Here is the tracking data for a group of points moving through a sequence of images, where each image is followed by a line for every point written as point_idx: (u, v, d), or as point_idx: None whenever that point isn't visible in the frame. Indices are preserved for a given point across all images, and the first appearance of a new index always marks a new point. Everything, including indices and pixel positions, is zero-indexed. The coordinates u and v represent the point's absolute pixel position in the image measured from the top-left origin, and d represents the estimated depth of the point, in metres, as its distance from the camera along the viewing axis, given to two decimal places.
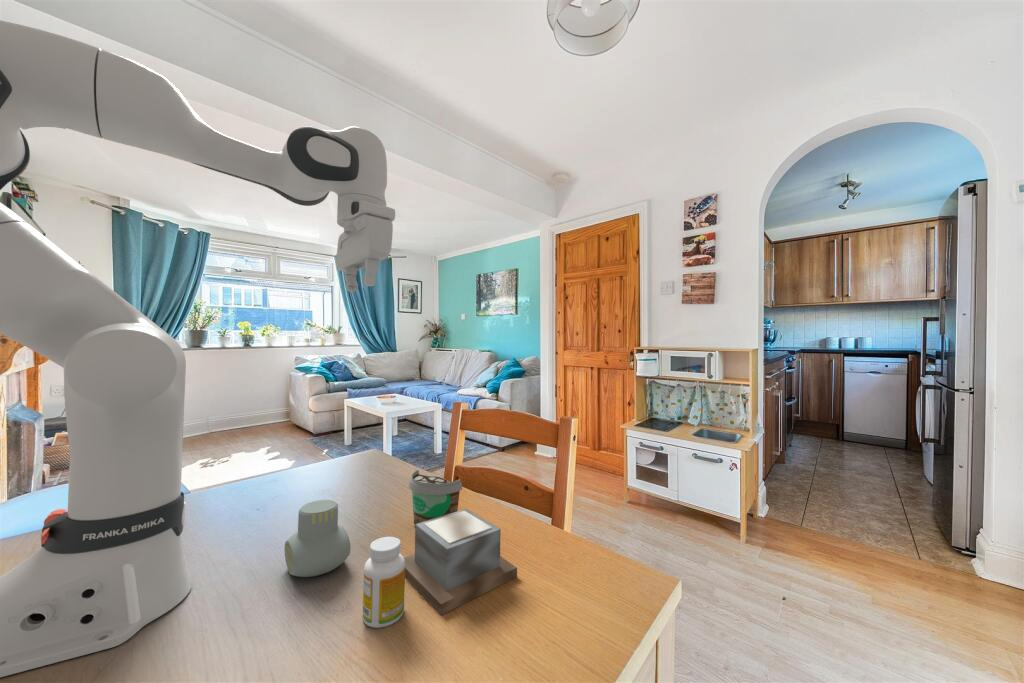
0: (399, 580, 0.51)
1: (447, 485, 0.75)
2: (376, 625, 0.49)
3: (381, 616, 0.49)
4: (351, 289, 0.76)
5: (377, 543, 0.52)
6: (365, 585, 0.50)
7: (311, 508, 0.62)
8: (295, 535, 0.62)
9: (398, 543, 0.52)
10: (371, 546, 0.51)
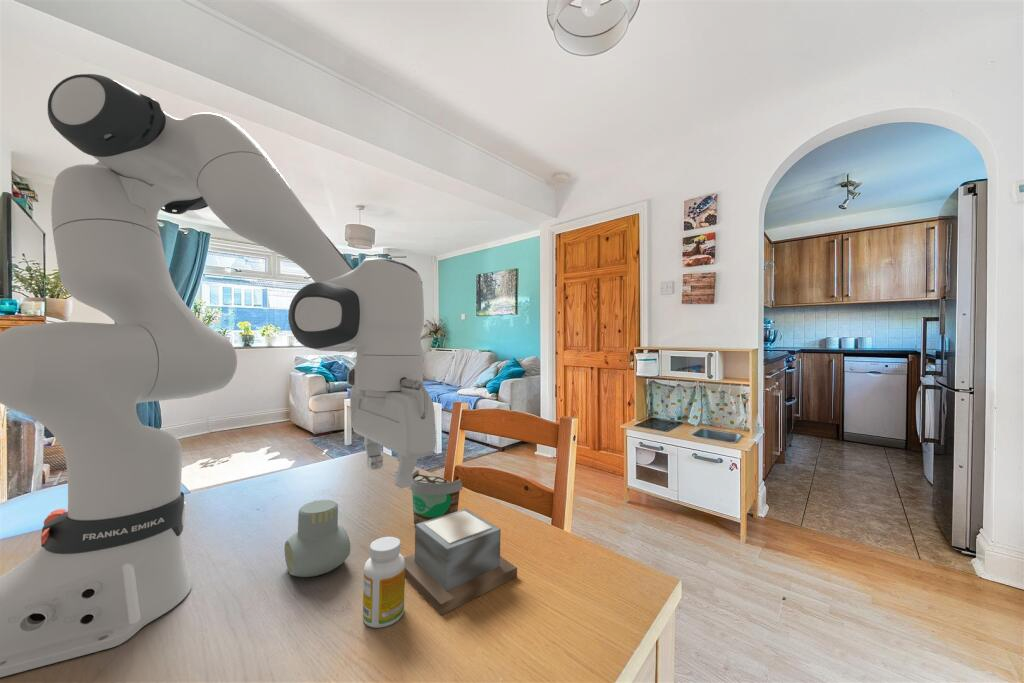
0: (399, 580, 0.51)
1: (447, 485, 0.75)
2: (376, 625, 0.49)
3: (381, 616, 0.49)
4: None
5: (377, 543, 0.52)
6: (365, 585, 0.50)
7: (311, 508, 0.62)
8: (295, 535, 0.62)
9: (398, 543, 0.52)
10: (371, 546, 0.51)
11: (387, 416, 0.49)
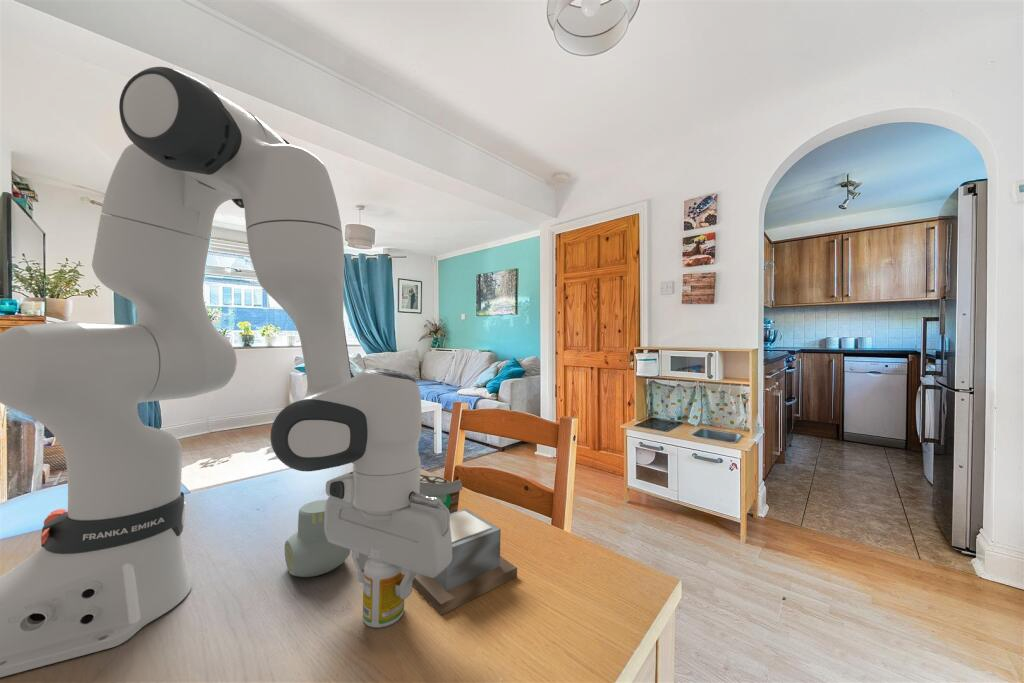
0: (399, 579, 0.51)
1: (447, 485, 0.75)
2: (376, 625, 0.49)
3: (381, 616, 0.49)
4: None
5: None
6: (365, 585, 0.50)
7: (311, 508, 0.62)
8: (295, 535, 0.62)
9: None
10: None
11: (394, 532, 0.49)
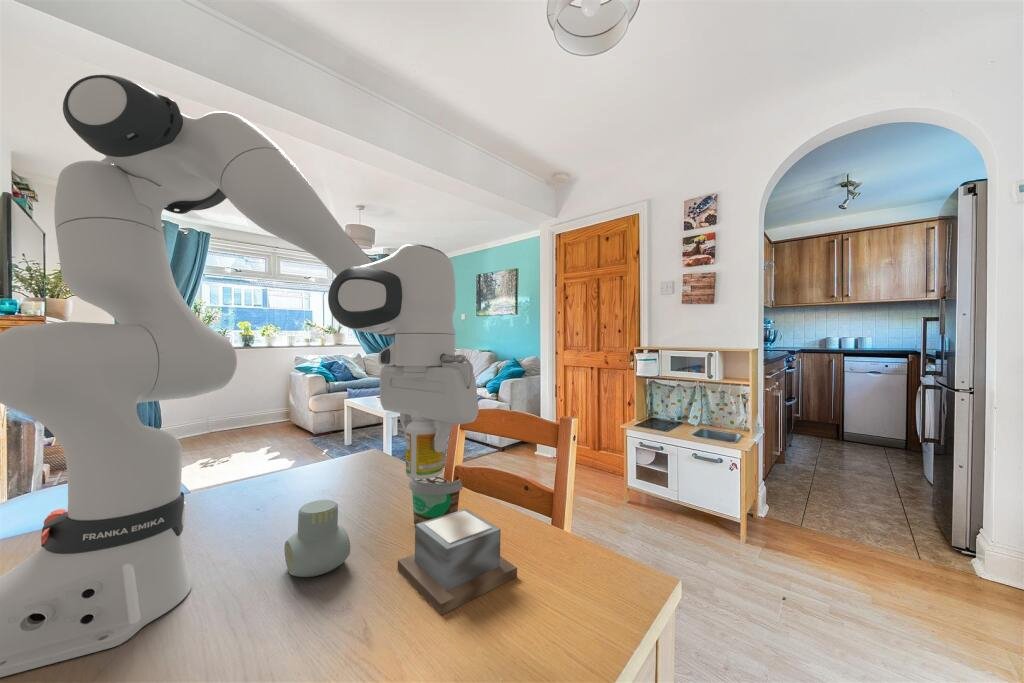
0: None
1: (447, 485, 0.75)
2: (415, 476, 0.54)
3: (418, 468, 0.54)
4: None
5: None
6: (406, 441, 0.55)
7: (311, 508, 0.62)
8: (295, 535, 0.62)
9: None
10: None
11: (428, 389, 0.54)
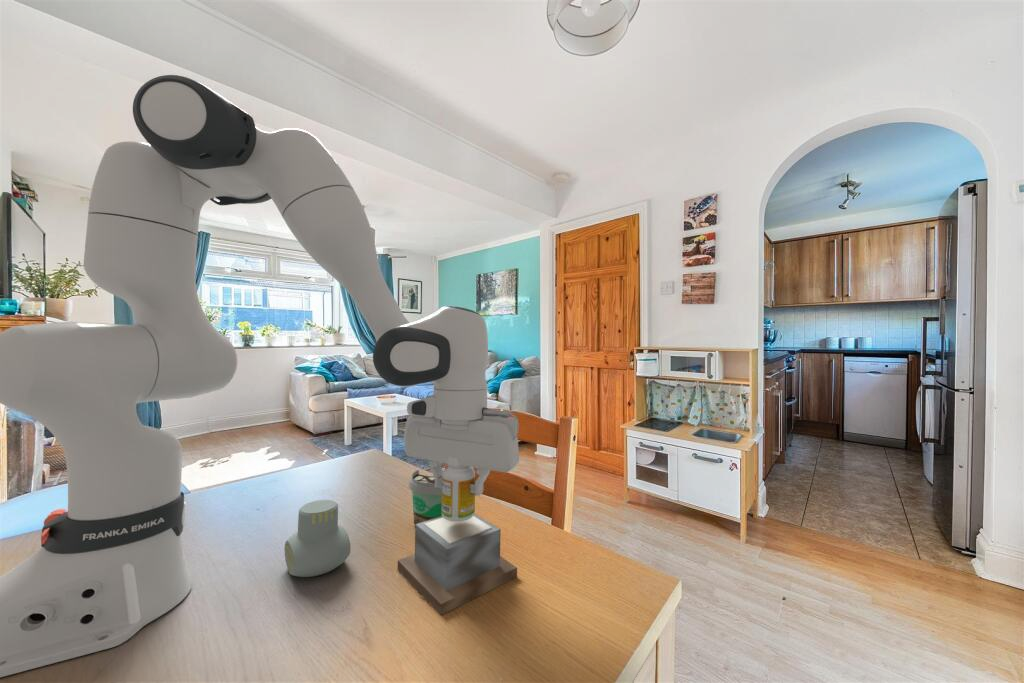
0: None
1: None
2: (456, 519, 0.59)
3: (460, 511, 0.59)
4: None
5: None
6: (445, 487, 0.60)
7: (311, 508, 0.62)
8: (295, 535, 0.62)
9: None
10: None
11: (470, 440, 0.60)
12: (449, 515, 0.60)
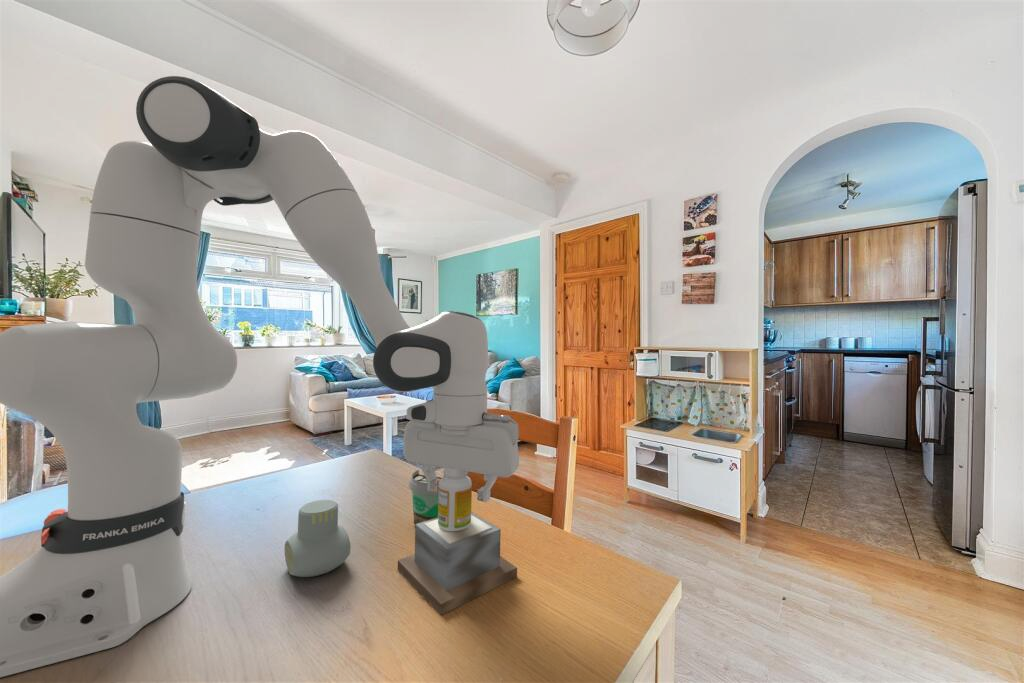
0: (469, 493, 0.61)
1: None
2: (452, 529, 0.60)
3: (456, 521, 0.60)
4: None
5: None
6: (442, 497, 0.60)
7: (311, 508, 0.62)
8: (295, 535, 0.62)
9: None
10: None
11: (470, 445, 0.60)
12: (445, 525, 0.60)
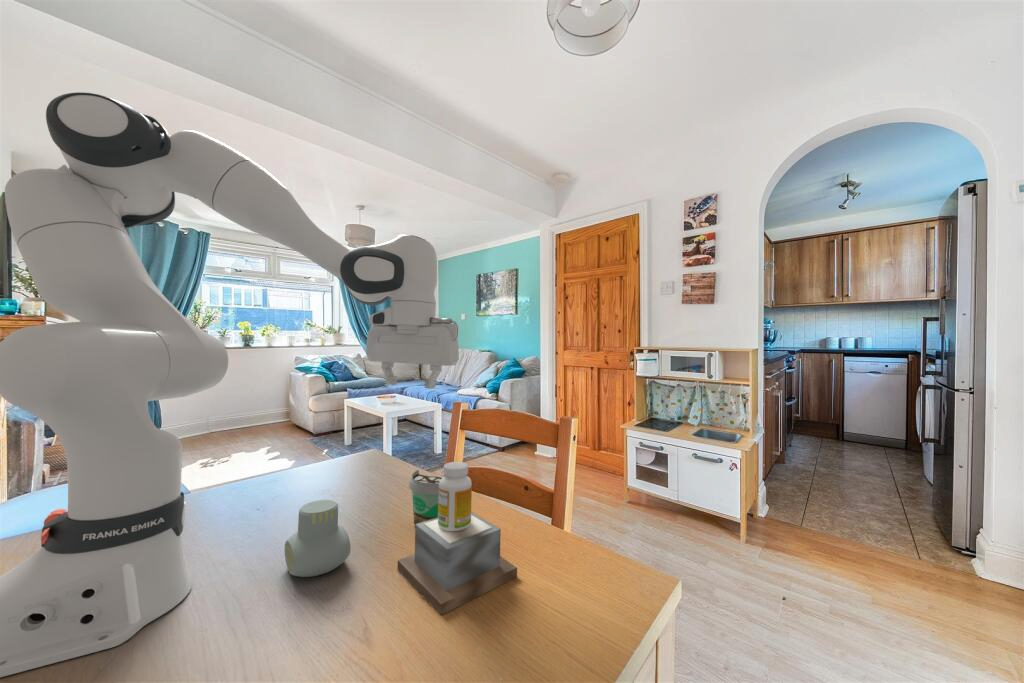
0: (469, 493, 0.61)
1: None
2: (452, 529, 0.60)
3: (456, 521, 0.60)
4: None
5: (449, 465, 0.62)
6: (442, 497, 0.60)
7: (311, 508, 0.62)
8: (295, 535, 0.62)
9: (466, 465, 0.63)
10: (445, 466, 0.62)
11: (419, 342, 0.74)
12: (445, 525, 0.60)
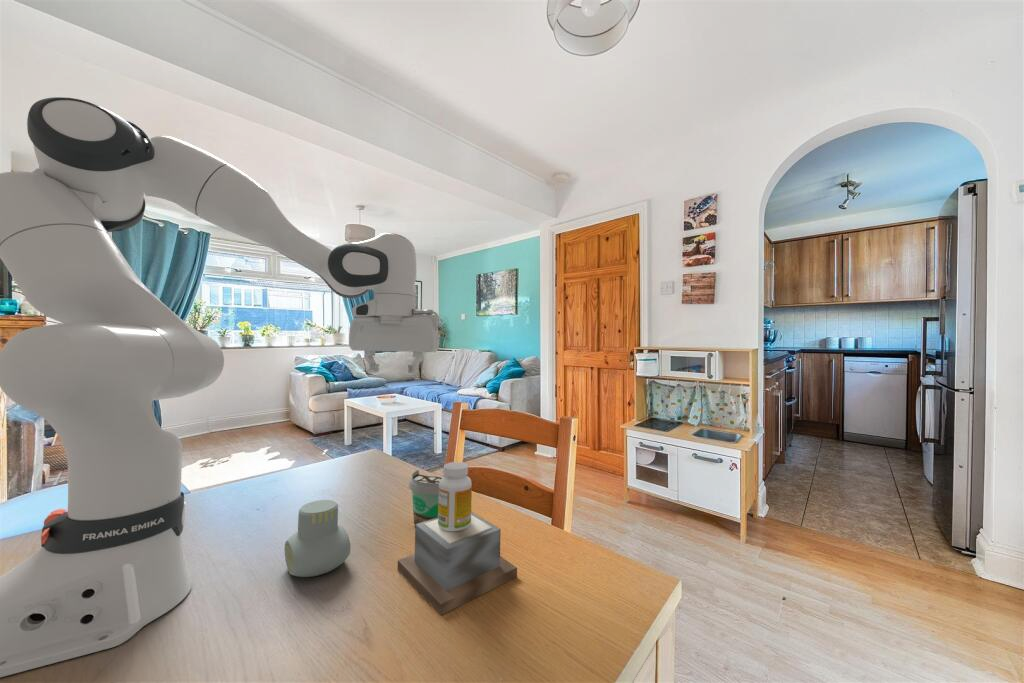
0: (469, 494, 0.61)
1: None
2: (452, 529, 0.60)
3: (456, 522, 0.60)
4: None
5: (449, 465, 0.62)
6: (442, 497, 0.60)
7: (311, 508, 0.62)
8: (295, 535, 0.62)
9: (466, 465, 0.63)
10: (445, 466, 0.61)
11: (402, 332, 0.81)
12: (445, 525, 0.60)
